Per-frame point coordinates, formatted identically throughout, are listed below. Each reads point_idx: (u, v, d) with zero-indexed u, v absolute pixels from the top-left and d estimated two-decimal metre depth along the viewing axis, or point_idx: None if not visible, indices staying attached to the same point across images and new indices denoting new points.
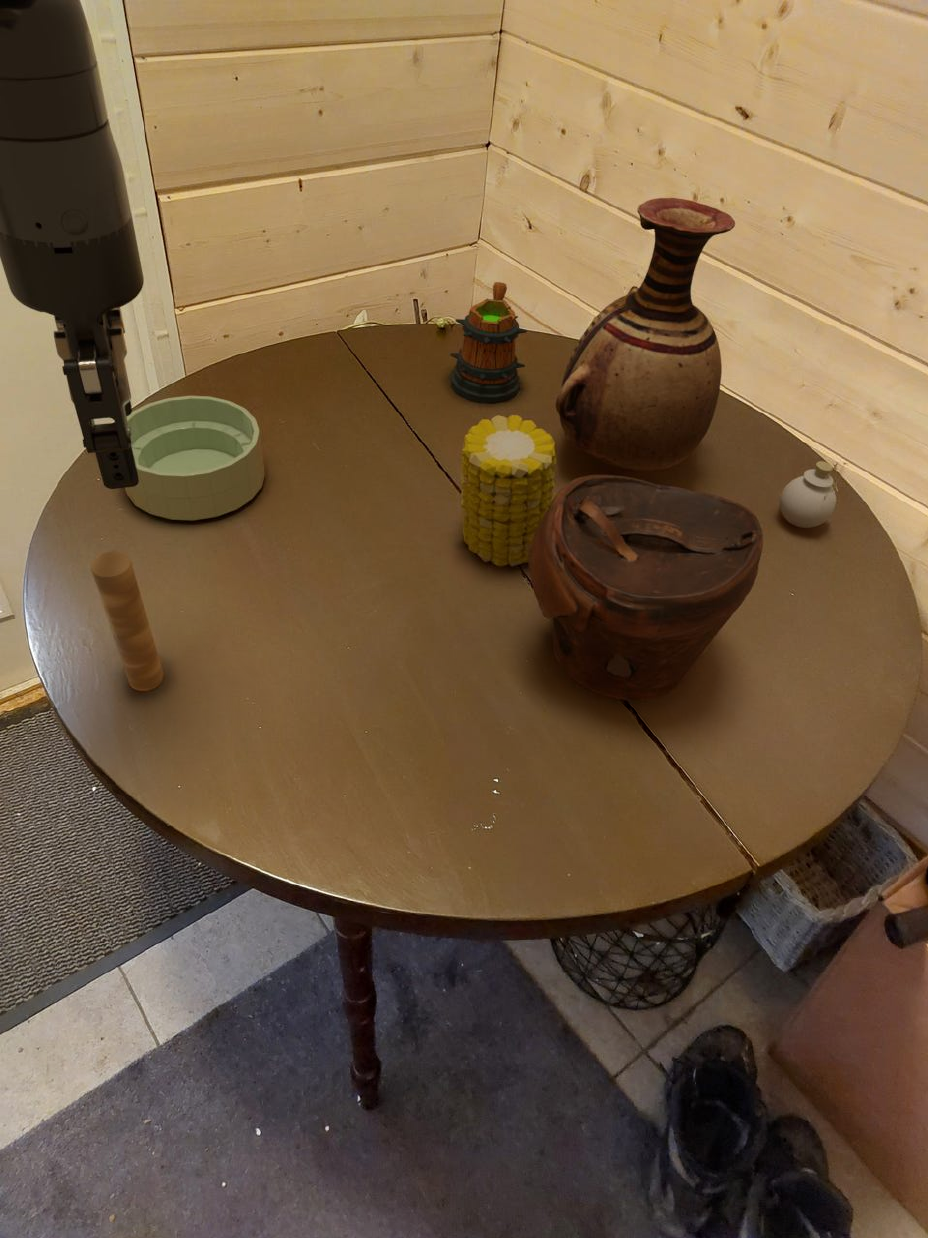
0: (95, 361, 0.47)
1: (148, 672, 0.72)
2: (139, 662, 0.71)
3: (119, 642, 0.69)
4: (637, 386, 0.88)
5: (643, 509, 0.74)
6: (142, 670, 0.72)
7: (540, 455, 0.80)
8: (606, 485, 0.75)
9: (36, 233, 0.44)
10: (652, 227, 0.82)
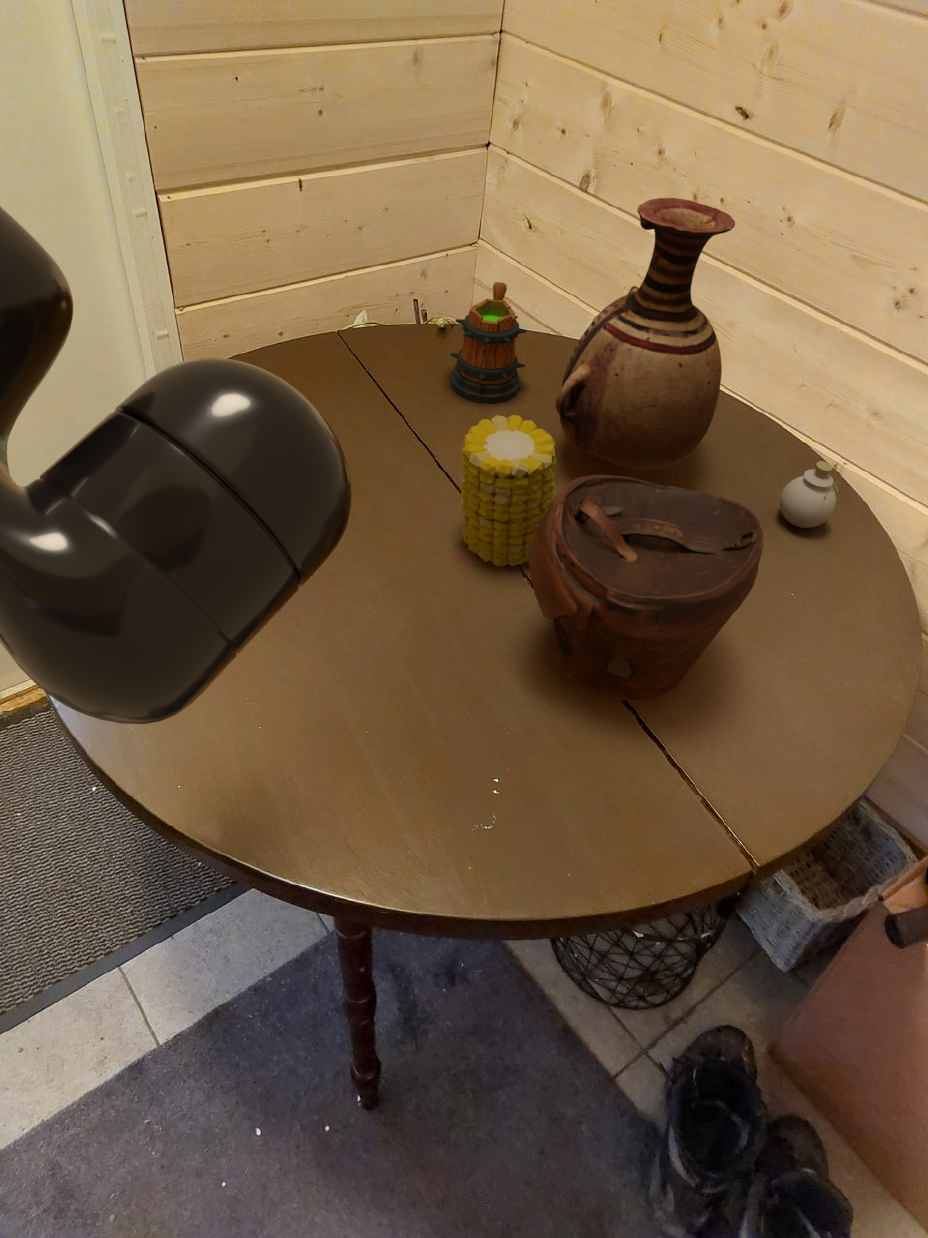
0: None
1: None
2: None
3: None
4: (637, 386, 0.88)
5: (643, 509, 0.74)
6: None
7: (540, 455, 0.80)
8: (606, 485, 0.75)
9: None
10: (652, 227, 0.82)
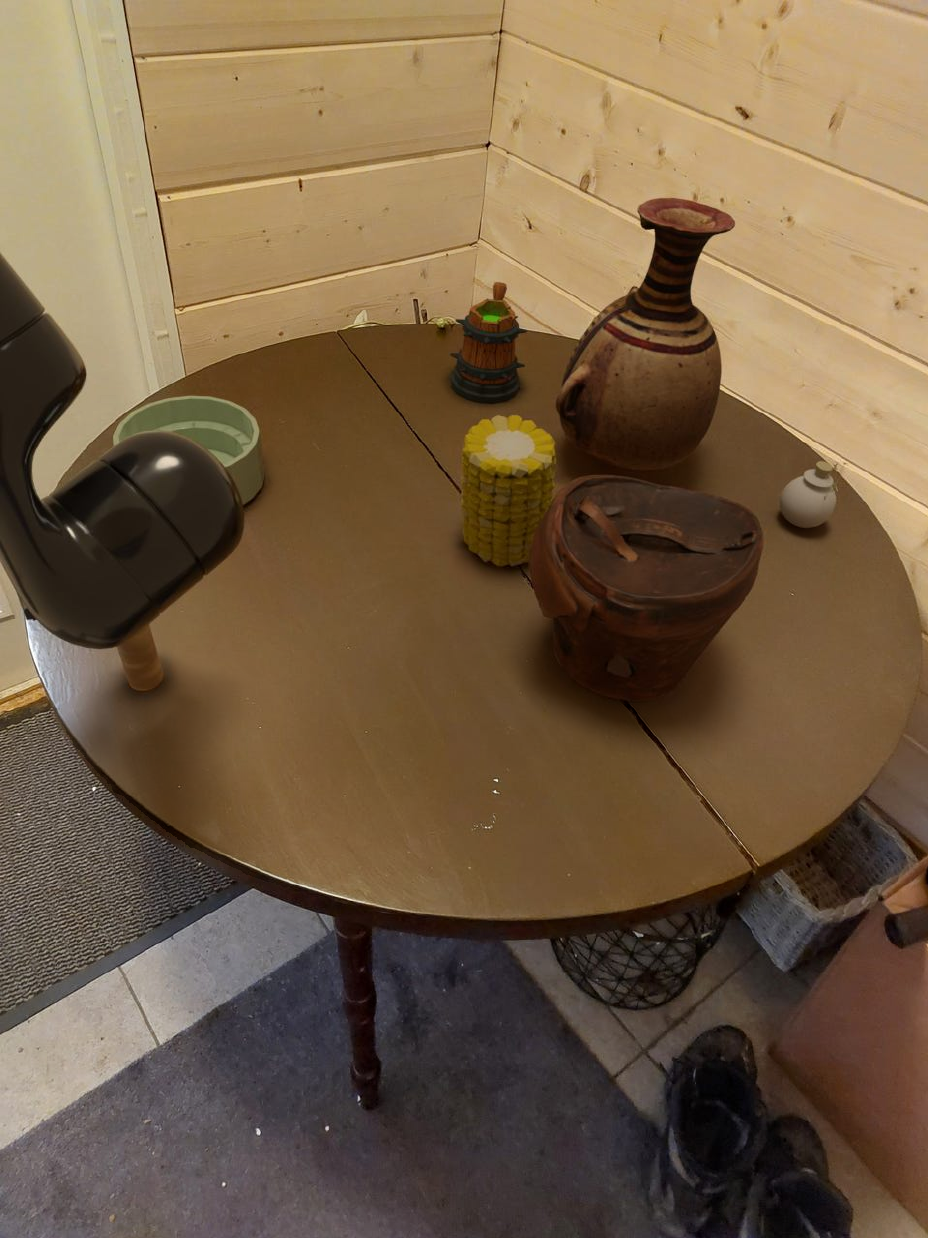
0: (24, 609, 0.57)
1: (148, 672, 0.72)
2: (139, 662, 0.71)
3: None
4: (637, 386, 0.88)
5: (643, 509, 0.74)
6: (142, 670, 0.72)
7: (540, 455, 0.80)
8: (606, 485, 0.75)
9: None
10: (652, 227, 0.82)
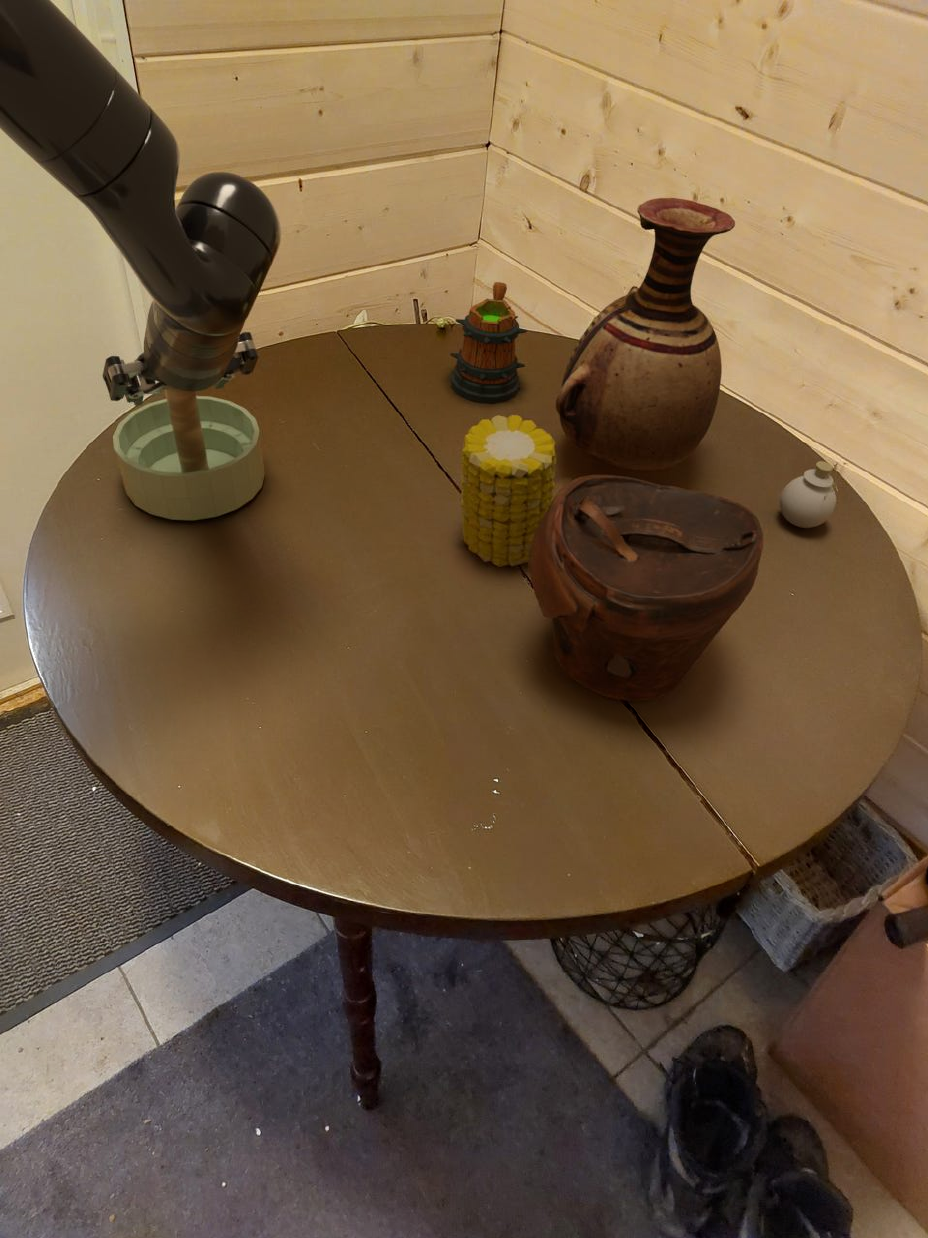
0: (116, 374, 0.75)
1: (199, 467, 0.92)
2: (193, 456, 0.90)
3: (178, 437, 0.89)
4: (637, 386, 0.88)
5: (643, 509, 0.74)
6: (195, 465, 0.91)
7: (540, 455, 0.80)
8: (606, 485, 0.75)
9: (146, 329, 0.71)
10: (652, 227, 0.82)
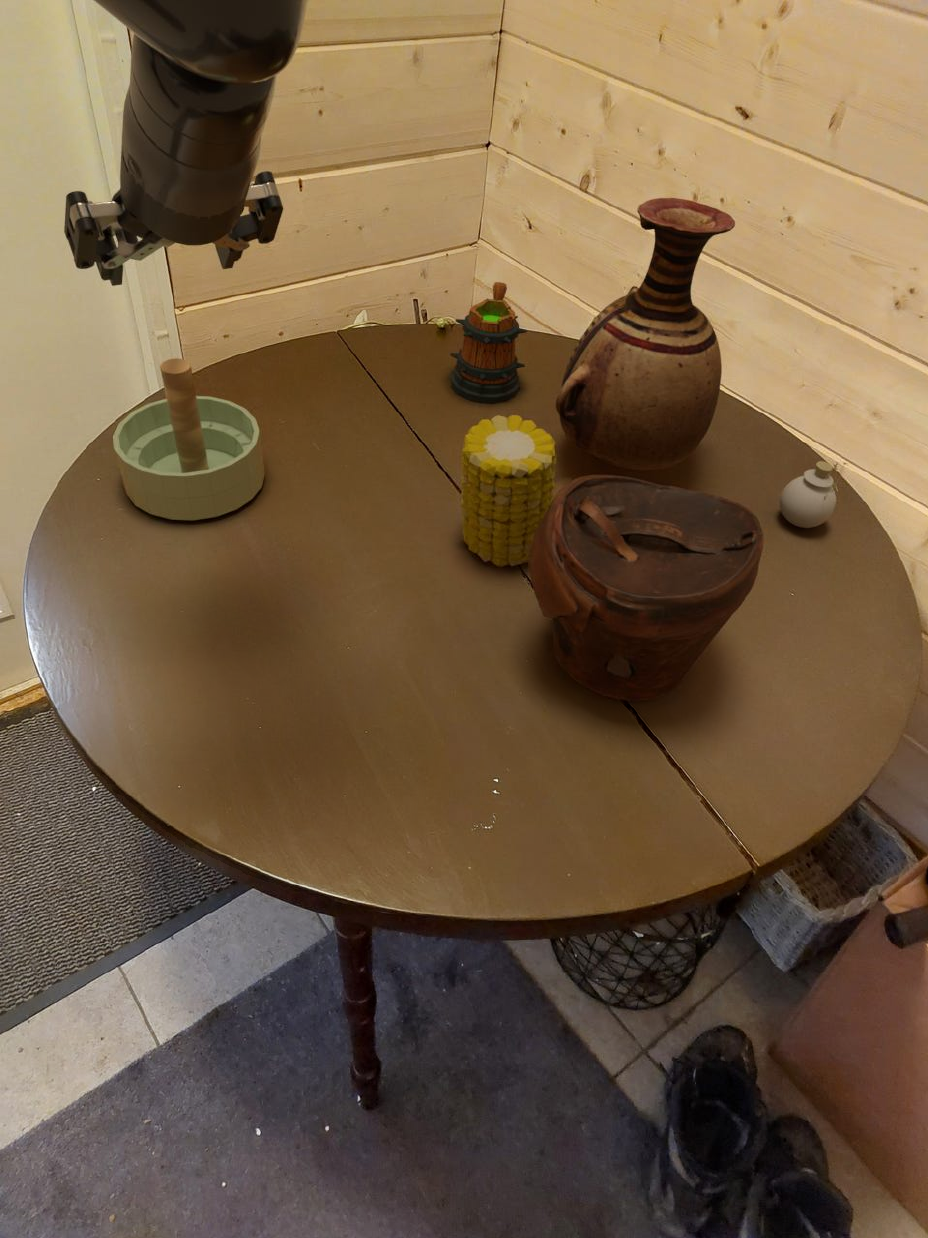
0: (80, 218, 0.52)
1: (199, 467, 0.92)
2: (193, 456, 0.90)
3: (178, 437, 0.89)
4: (637, 386, 0.88)
5: (643, 509, 0.74)
6: (195, 465, 0.91)
7: (540, 455, 0.80)
8: (606, 485, 0.75)
9: (122, 135, 0.48)
10: (652, 227, 0.82)
